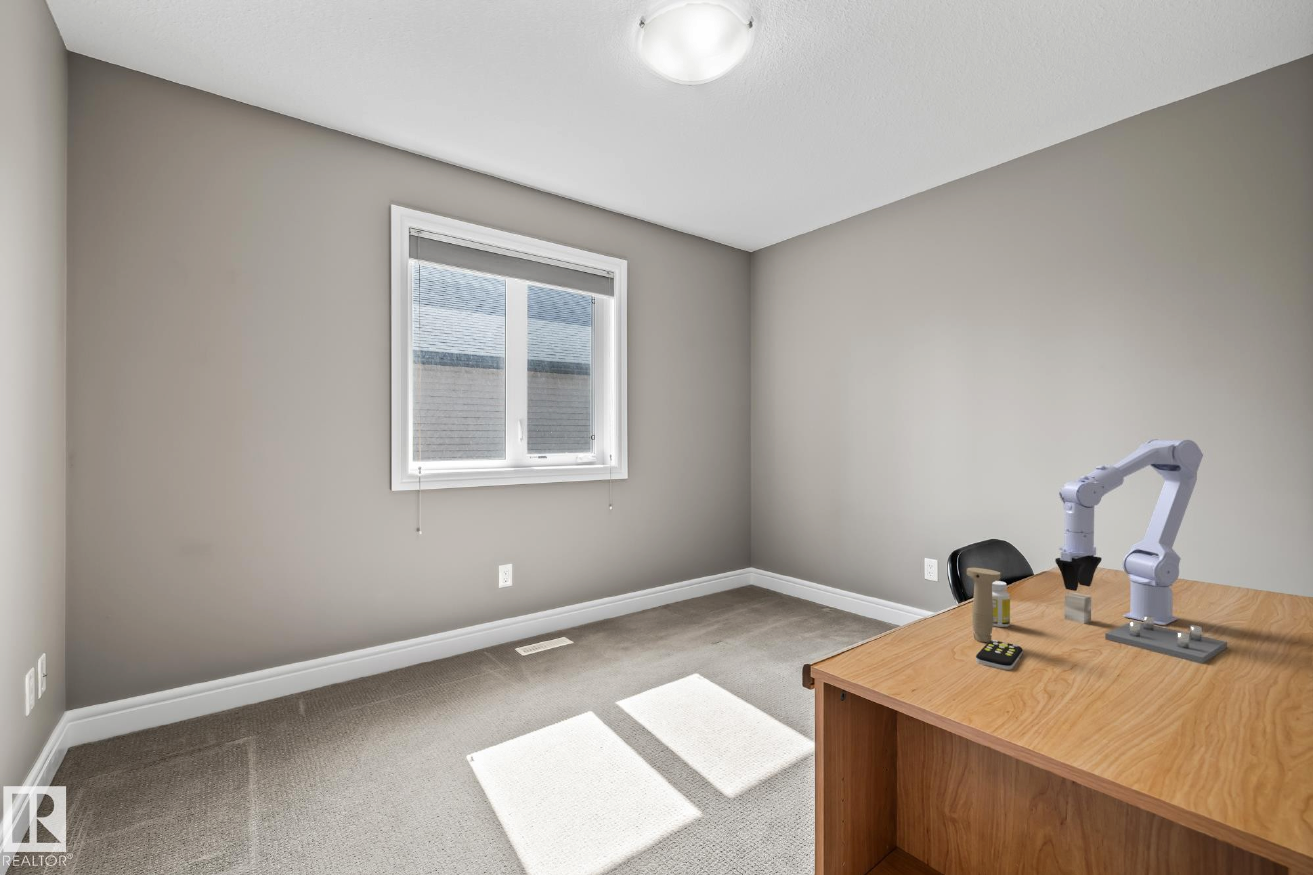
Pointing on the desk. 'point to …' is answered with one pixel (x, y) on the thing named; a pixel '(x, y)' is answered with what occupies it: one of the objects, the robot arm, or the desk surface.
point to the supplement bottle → (1000, 604)
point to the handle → (982, 602)
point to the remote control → (999, 655)
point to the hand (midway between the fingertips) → (1078, 587)
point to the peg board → (1167, 640)
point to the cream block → (1078, 607)
